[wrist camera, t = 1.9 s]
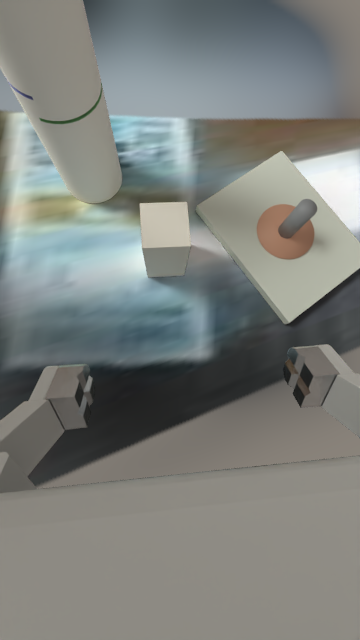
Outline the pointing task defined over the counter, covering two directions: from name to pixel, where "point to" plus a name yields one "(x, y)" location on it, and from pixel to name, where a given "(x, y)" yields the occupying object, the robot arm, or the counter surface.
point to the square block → (165, 238)
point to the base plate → (264, 267)
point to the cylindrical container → (61, 91)
